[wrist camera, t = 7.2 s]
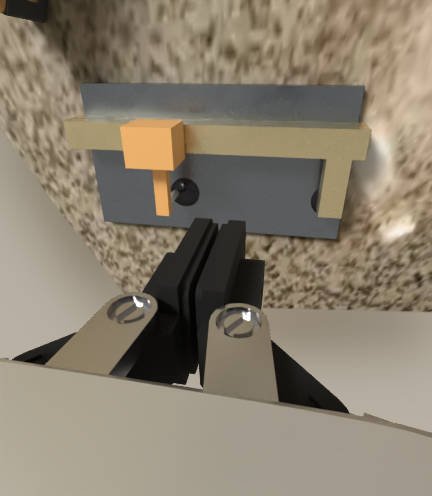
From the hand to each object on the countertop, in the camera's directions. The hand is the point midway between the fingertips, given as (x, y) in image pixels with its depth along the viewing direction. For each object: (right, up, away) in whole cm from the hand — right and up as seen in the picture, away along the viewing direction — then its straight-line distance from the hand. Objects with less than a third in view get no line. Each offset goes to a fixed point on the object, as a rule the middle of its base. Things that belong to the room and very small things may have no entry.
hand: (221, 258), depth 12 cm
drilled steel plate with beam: (0, +9, +23) cm, 24 cm away
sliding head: (-4, +9, +22) cm, 24 cm away
